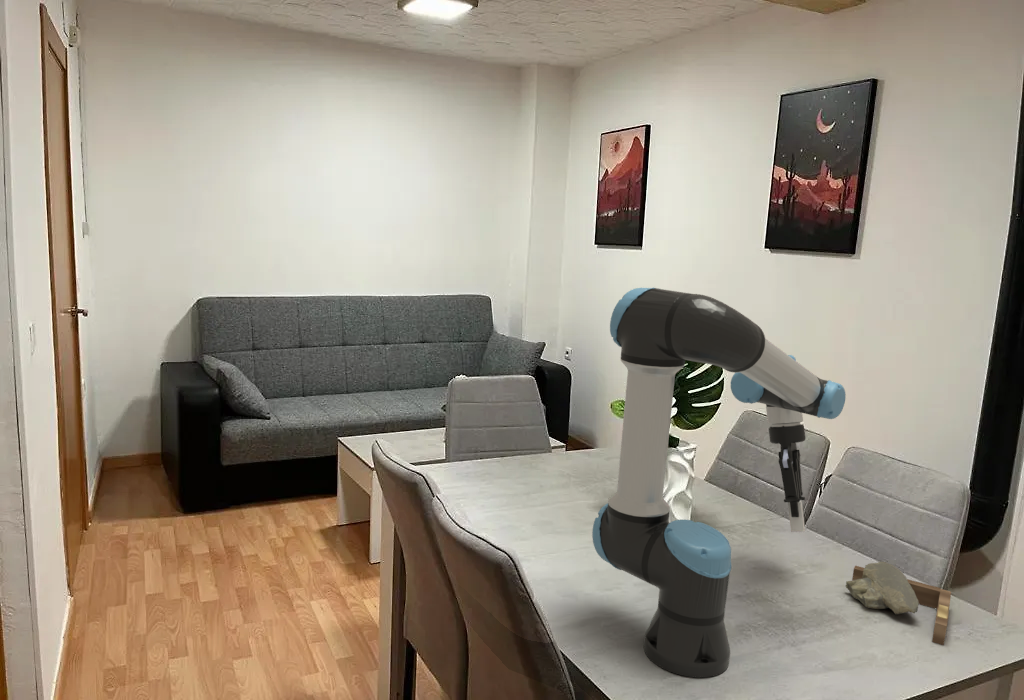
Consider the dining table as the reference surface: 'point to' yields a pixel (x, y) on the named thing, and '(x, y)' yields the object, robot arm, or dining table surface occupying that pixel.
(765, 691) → the dining table surface
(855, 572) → the brown wooden l-shaped piece
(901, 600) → the jagged rock
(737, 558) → the dining table surface
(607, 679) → the dining table surface
